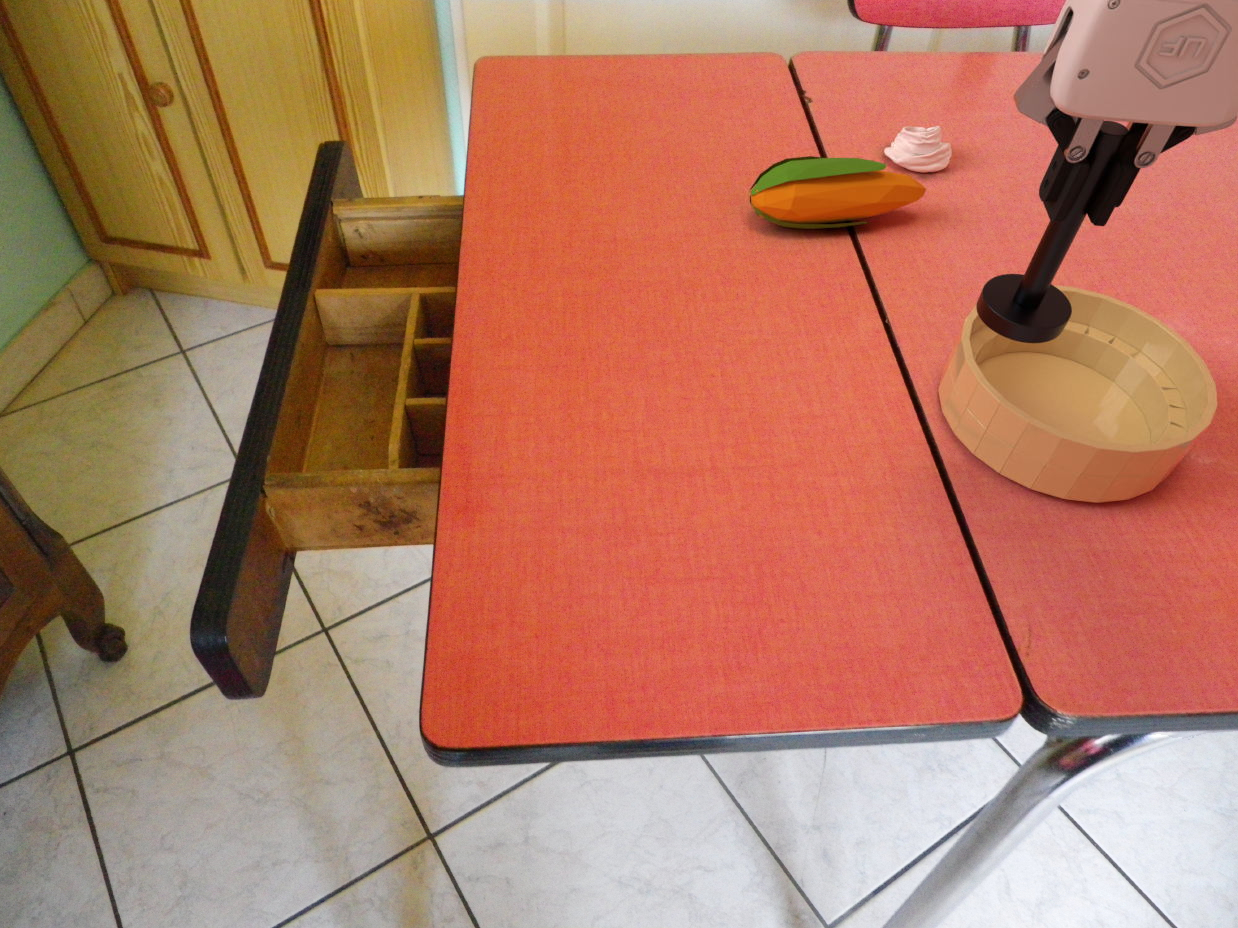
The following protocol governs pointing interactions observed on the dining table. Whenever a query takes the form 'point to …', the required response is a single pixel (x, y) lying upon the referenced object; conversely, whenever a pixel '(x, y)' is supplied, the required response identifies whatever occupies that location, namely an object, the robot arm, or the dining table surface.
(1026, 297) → the black plunger
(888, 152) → the whipped cream
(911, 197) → the corn
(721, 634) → the dining table surface
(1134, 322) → the bowl
